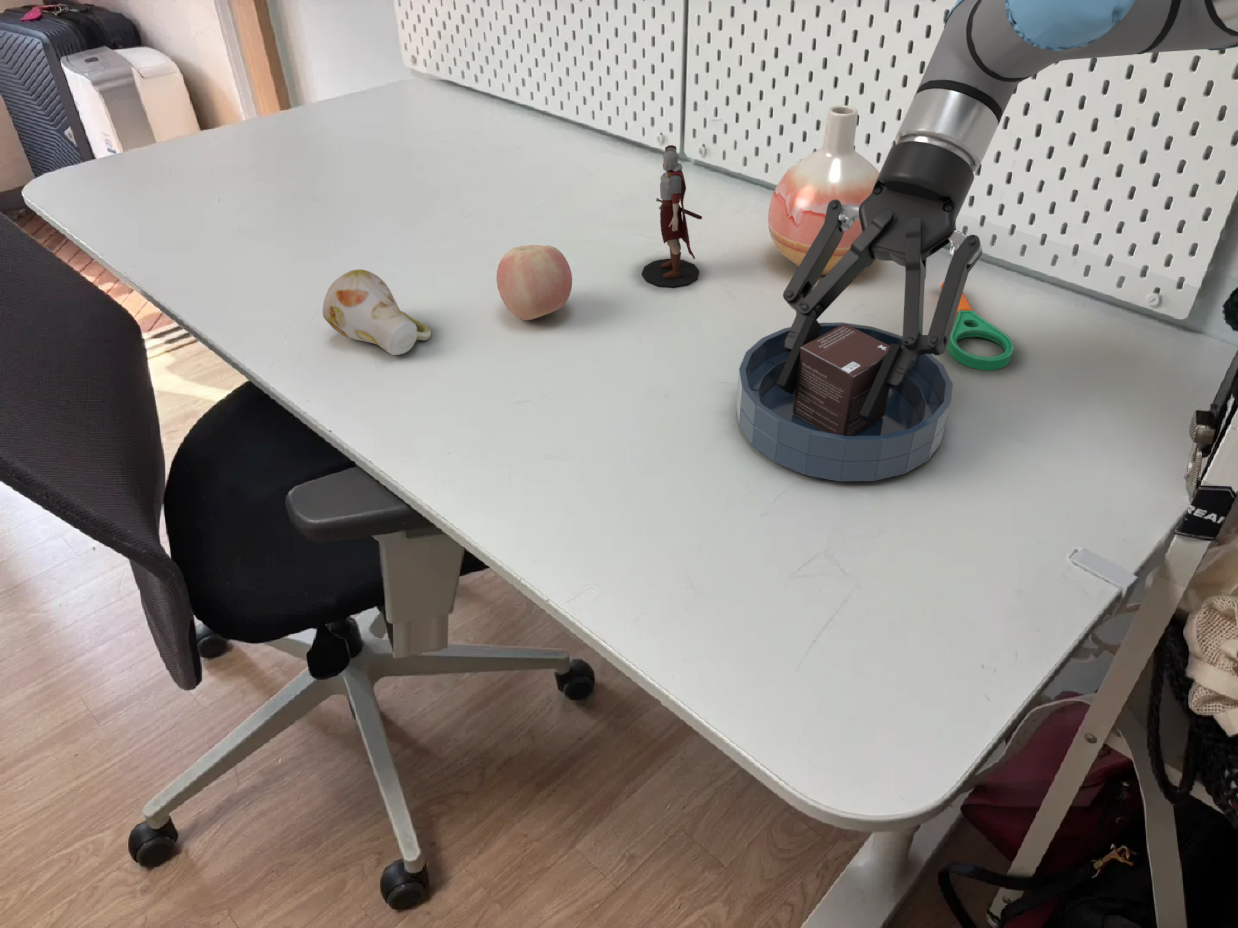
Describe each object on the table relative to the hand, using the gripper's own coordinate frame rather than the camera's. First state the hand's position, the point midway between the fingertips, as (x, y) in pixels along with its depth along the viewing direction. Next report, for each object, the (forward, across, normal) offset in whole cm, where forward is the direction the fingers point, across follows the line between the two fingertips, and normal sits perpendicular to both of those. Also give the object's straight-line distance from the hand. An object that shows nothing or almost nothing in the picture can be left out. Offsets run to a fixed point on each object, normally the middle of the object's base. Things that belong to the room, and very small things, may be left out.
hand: (824, 403), depth 80 cm
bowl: (0, 0, -5) cm, 5 cm away
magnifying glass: (-15, -4, -21) cm, 26 cm away
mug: (+11, +45, +4) cm, 46 cm away
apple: (+1, +35, -5) cm, 35 cm away
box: (0, 0, -5) cm, 5 cm away
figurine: (-10, +28, -16) cm, 34 cm away
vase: (-19, +15, -24) cm, 34 cm away
